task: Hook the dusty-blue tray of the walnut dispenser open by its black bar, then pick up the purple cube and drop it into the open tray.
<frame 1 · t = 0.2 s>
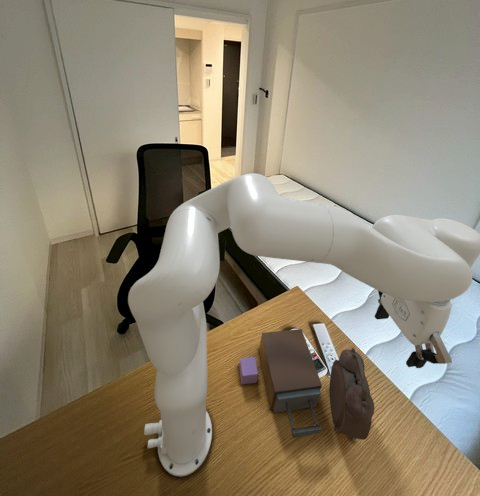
hand: (395, 339, 52), 31 cm above the table, tool pointing down, fingers open, 9 cm apart
tray: (292, 386, 65), point 4 cm above the table, slide at 0.0 cm
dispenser: (284, 374, 71), on the table
purple cube: (247, 374, 71), on the table
brown beanbag pouch: (341, 412, 64), on the table
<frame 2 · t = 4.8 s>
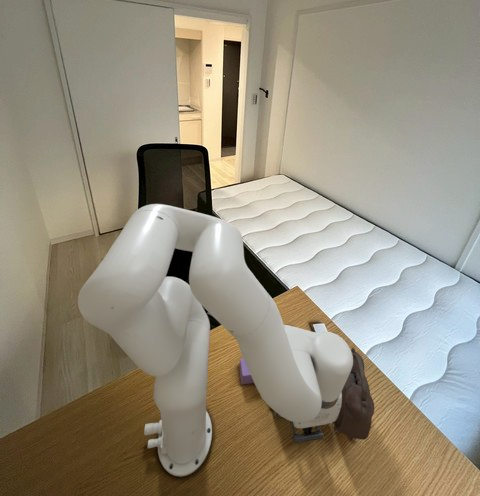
hand: (304, 424, 58), 4 cm above the table, tool pointing down, fingers closed
tray: (294, 390, 64), point 4 cm above the table, slide at 1.0 cm
everything else where it was.
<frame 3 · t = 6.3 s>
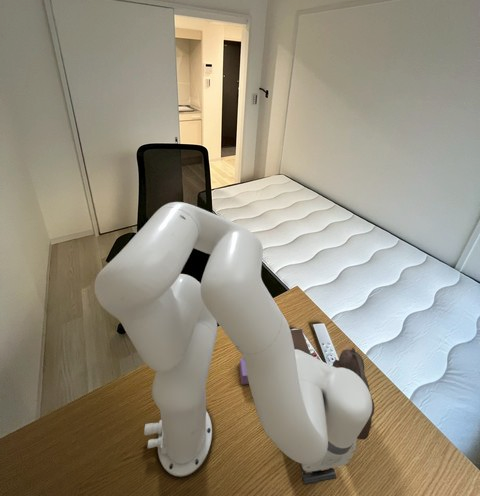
hand: (313, 462, 53), 4 cm above the table, tool pointing down, fingers closed
tray: (302, 420, 59), point 4 cm above the table, slide at 6.9 cm
everything else where it was.
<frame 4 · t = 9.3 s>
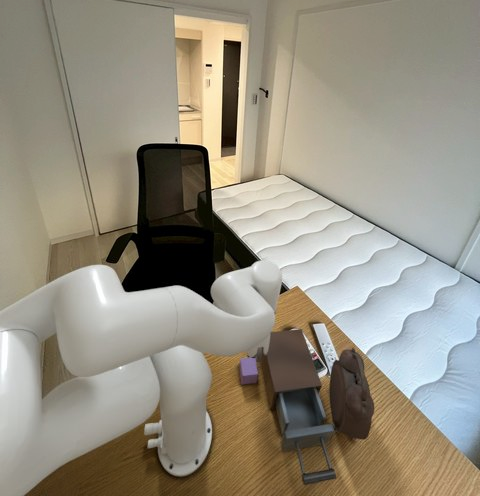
hand: (252, 353, 65), 11 cm above the table, tool pointing down, fingers closed
nothing on the table moved.
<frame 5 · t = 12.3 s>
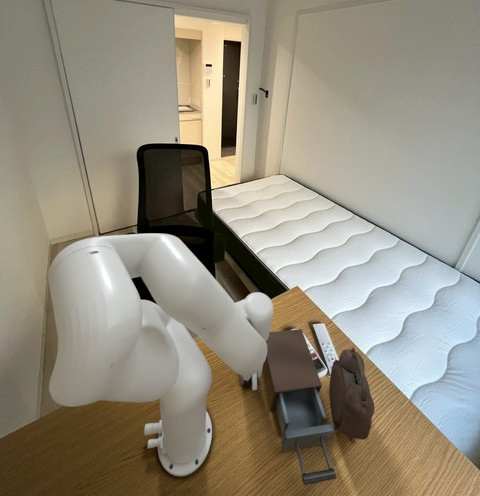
hand: (247, 373, 70), 0 cm above the table, tool pointing down, fingers closed on purple cube, 4 cm apart
purple cube: (247, 374, 71), on the table, touching gripper
everything else where it was.
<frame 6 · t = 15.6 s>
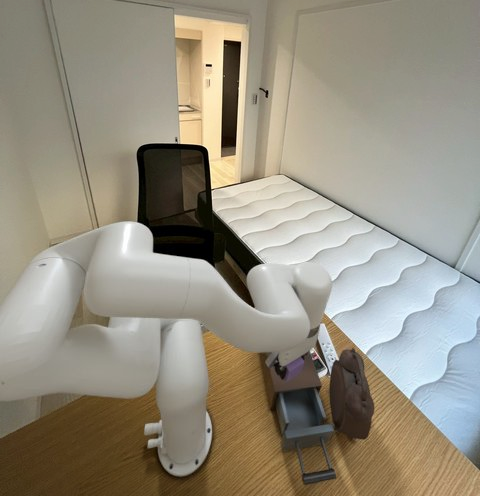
hand: (288, 366, 58), 17 cm above the table, tool pointing down, fingers closed on purple cube, 4 cm apart
purple cube: (287, 367, 58), point 17 cm above the table, touching gripper
everything else where it was.
when the fingers open (8 cm above the table, at t = 18.9 s): purple cube drops 6 cm, resting on tray.
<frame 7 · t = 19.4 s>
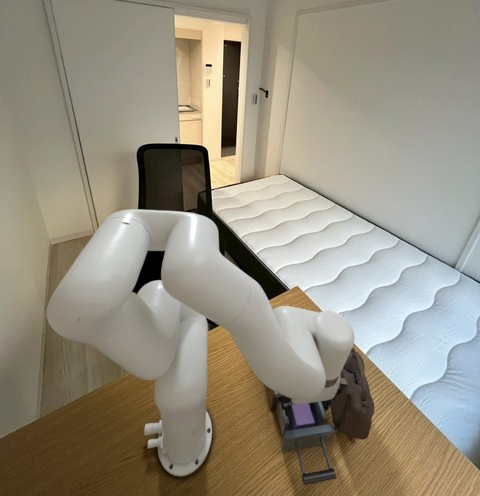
hand: (304, 405, 57), 10 cm above the table, tool pointing down, fingers open, 9 cm apart
tray: (302, 420, 59), point 4 cm above the table, slide at 6.9 cm, touching purple cube
purple cube: (299, 420, 61), point 2 cm above the table, touching tray
everything else where it was.
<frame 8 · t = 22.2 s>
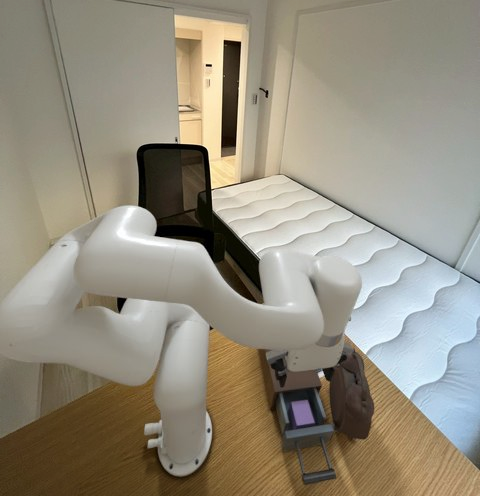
hand: (302, 375, 49), 25 cm above the table, tool pointing down, fingers open, 9 cm apart
nothing on the table moved.
at the end: tray slide at 6.9 cm; purple cube inside the target area in the tray (3.5 cm from its centre), point 2.0 cm above the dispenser's base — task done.
